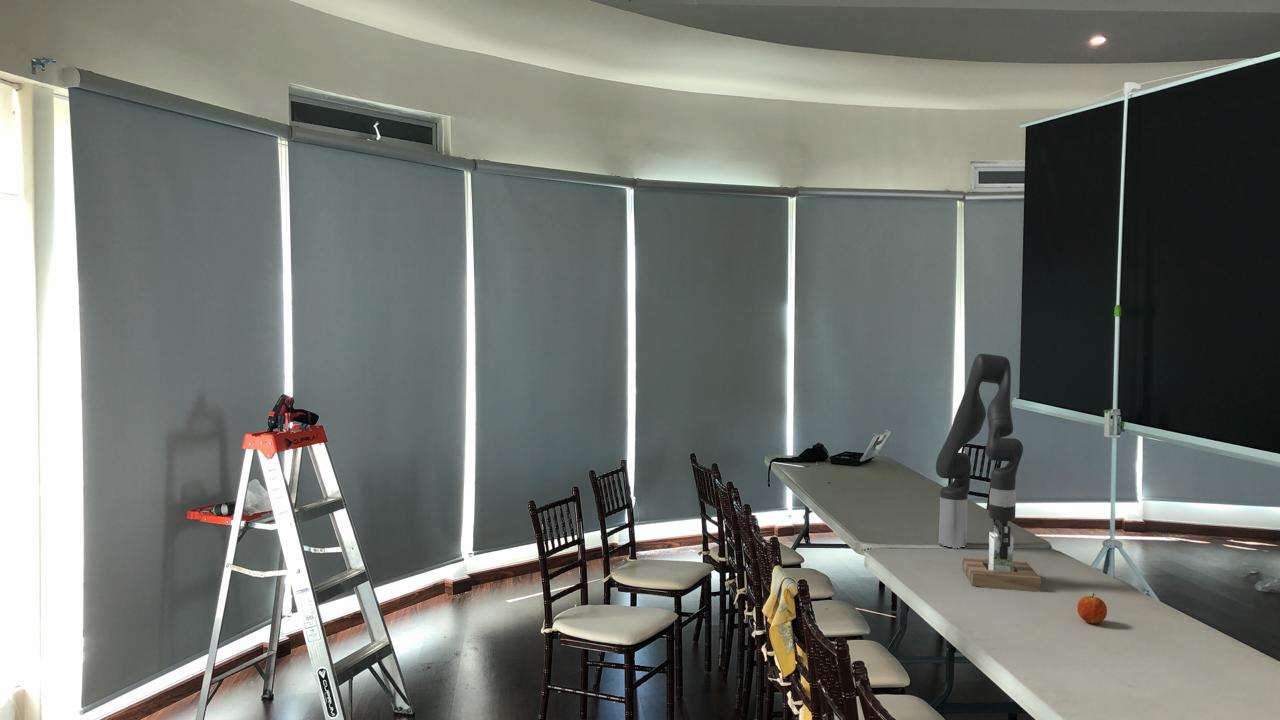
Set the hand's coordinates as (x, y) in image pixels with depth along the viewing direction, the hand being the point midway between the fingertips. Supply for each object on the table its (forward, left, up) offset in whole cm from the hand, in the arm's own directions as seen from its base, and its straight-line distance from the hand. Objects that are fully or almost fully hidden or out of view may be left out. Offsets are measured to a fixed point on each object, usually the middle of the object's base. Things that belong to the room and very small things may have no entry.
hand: (1000, 555), depth 269 cm
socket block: (0, 0, -8) cm, 8 cm away
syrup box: (0, 0, -8) cm, 8 cm away
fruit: (+36, +16, -8) cm, 40 cm away
